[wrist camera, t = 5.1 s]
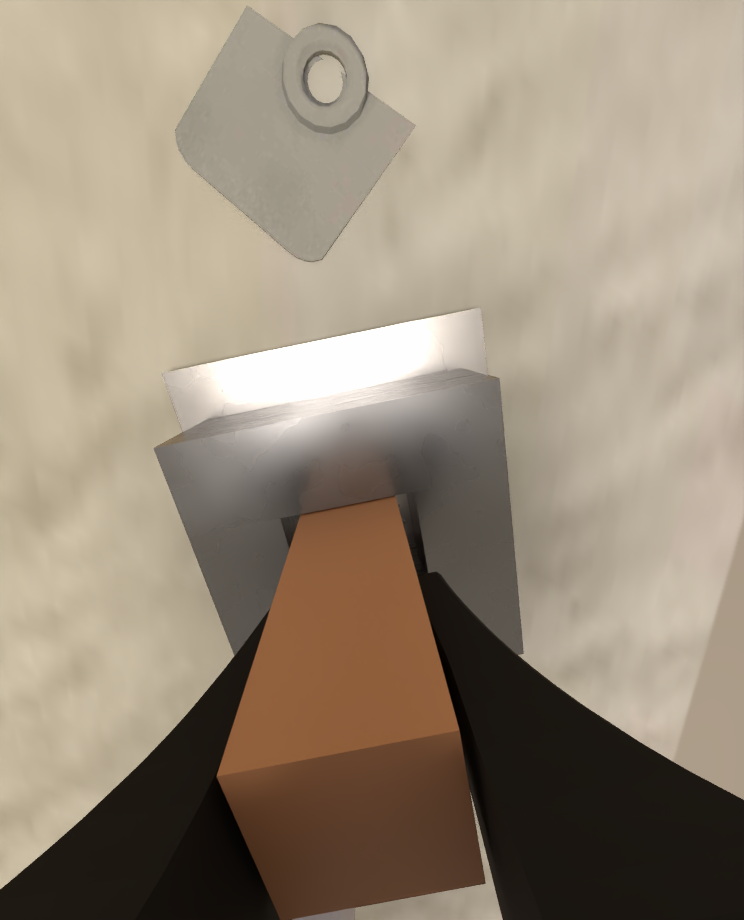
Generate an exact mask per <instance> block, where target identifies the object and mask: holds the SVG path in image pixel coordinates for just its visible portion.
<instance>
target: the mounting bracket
mask: <svg viewBox="0 0 744 920" xmlns="http://www.w3.org/2000/svg"><path fill="white" fill-rule="evenodd" d="M320 54H327V55H332V56H333V57H335V58H336V59H337V60H339V61H340V63H341V64H342V66H343V67H344V69H345V72H346V75H344V74H343V73H342V72H341V74H342V79H343V87H342V91H341V93H340V96H339V97H338V98H337V99H336V100H335V101H333V102H331V103H321V102H319V101H317V100H316V99H315V98H314V97H313V96H312V94H311V92H310V90H309V88H308V83H307V80H308V73H309V70H310V68H311V67H312V65H313V64H314V63H315V62H317V61H319V60H323V59H322V58H320V57H319V56H318V55H320ZM368 81H369V77H368V73H367V69H366V65H365V61H364V57H363V55H362V53H361V52H360V50H359V48H358V47H357V45H356V44H355V42H354V41H353V39H352V38H351V36H349V35H348V34H347V33H345V32H344V31H342V30H341V29H340V28H338V27H337V26H334V25H328V24H322V23H318V24H315V25H312V26H309V27H306V28H304V29H302V30H301V31H300V32H299V33H298V35H297V36H296V37H295V38H292V37H291V36H290V35H288V34H287V33H285V32H284V31H282V30H281V29H280V28H278V27H277V26H275V25H274V24H273V23H271V22H270V21H268V20H267V19H266V18H264V17H263V16H261V15H260V14H259V13H257V12H256V11H254V10H253V9H252V8H250V7H249V6H247V7H246V8H245V10H244V12H243V14H242V15H241V17H240V19H239V20H238V22H237V24H236V26H235V27H234V29H233V31H232V33H231V34H230V36H229V38H228V39H227V41H226V43H225V45H224V46H223V48H222V50H221V52H220V53H219V55H218V57H217V58H216V60H215V62H214V64H213V65H212V67H211V69H210V71H209V72H208V74H207V76H206V77H205V79H204V81H203V83H202V84H201V86H200V88H199V90H198V91H197V93H196V95H195V96H194V98H193V100H192V102H191V103H190V105H189V107H188V109H187V110H186V112H185V114H184V116H183V117H182V119H181V121H180V122H179V124H178V126H177V128H176V129H175V133H176V142H177V145H178V148H179V151H180V153H181V154H182V156H183V158H184V159H185V161H186V162H187V163H188V164H189V165H190V166H191V168H192V169H194V170H195V171H196V172H197V173H198V174H199V175H200V176H202V177H203V178H204V179H205V180H206V181H207V182H209V183H210V184H211V185H212V186H213V187H214V188H216V189H217V190H218V191H219V192H220V193H221V194H222V195H224V196H225V197H226V198H227V199H228V200H229V201H231V202H232V203H233V204H234V205H235V206H236V207H238V208H239V209H240V210H241V211H242V212H243V213H244V214H246V215H247V216H248V217H249V218H250V219H251V220H253V221H254V222H255V223H256V224H257V225H258V226H260V227H261V228H262V229H263V230H264V231H265V232H266V233H268V234H269V235H270V236H271V237H272V238H273V239H275V240H276V241H277V242H278V243H279V244H280V245H282V246H283V247H284V248H285V249H286V250H287V251H288V252H290V253H291V254H292V255H294V256H295V257H297V258H299V259H301V260H304V261H313V262H314V261H318V260H321V259H323V257H324V256H325V254H326V253H327V251H328V250H329V249H330V247H331V246H332V244H333V243H334V242H335V240H336V239H337V237H338V236H339V234H340V233H341V232H342V230H343V229H344V227H345V226H346V225H347V223H348V222H349V220H350V219H351V217H352V216H353V215H354V213H355V212H356V210H357V209H358V207H359V206H360V205H361V203H362V202H363V200H364V199H365V197H366V196H367V195H368V193H369V192H370V190H371V189H372V187H373V186H374V185H375V183H376V182H377V180H378V179H379V177H380V176H381V175H382V173H383V172H384V170H385V169H386V168H387V166H388V165H389V163H390V162H391V160H392V159H393V158H394V156H395V155H396V153H397V152H398V150H399V149H400V148H401V146H402V145H403V143H404V142H405V140H406V139H407V138H408V136H409V135H410V133H411V132H412V130H413V129H414V128H415V126H416V125H415V124H413V123H412V122H411V121H409V120H408V119H406V118H405V117H403V116H402V115H401V114H399V113H398V112H396V111H395V110H394V109H392V108H391V107H389V106H388V105H387V104H385V103H384V102H382V101H381V100H380V99H378V98H377V97H375V96H374V95H373V94H371V93H370V92H368Z"/></svg>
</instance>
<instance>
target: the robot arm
mask: <svg viewBox="0 0 744 920" xmlns="http://www.w3.org/2000/svg"><path fill="white" fill-rule="evenodd" d="M417 577H418V581H419V584H420V588H421V592H422V595H423V599H424V603H425V606H426V610H427V614H428V617H429V621H430V625H431V628H432V632H433V636H434V639H435V643H436V646H437V650H438V654H439V657H440V661H441V665H442V668H443V672H444V676H445V679H446V683H447V687H448V690H449V694H450V698H451V701H452V705H453V709H454V712H455V716H456V720H457V723H458V727H459V731H460V737H461V742H462V748H463V754H464V760H465V766H466V772H467V777H468V783H469V789H470V792H471V795H472V799H473V802H474V806H475V810H476V814H477V818H478V822H479V826H480V830H481V834H482V838H483V842H484V846H485V850H486V854H487V858H488V862H489V866H490V870H491V874H492V878H493V882H494V886H495V890H496V894H497V898H498V902H499V906H500V910H501V914H502V918H503V920H744V800H743V799H741V798H739V797H737V796H735V795H733V794H731V793H730V792H727V791H726V790H723V789H722V788H720V787H718V786H716V785H714V784H712V783H711V782H709V781H707V780H705V779H703V778H701V777H699V776H697V775H695V774H693V773H692V772H690V771H688V770H686V769H684V768H683V767H681V766H679V765H678V764H676V763H674V762H672V761H671V760H669V759H667V758H666V757H664V756H662V755H661V754H659V753H657V752H656V751H654V750H652V749H650V748H649V747H647V746H645V745H644V744H642V743H640V742H639V741H637V740H636V739H634V738H633V737H631V736H630V735H628V734H627V733H625V732H623V731H622V730H620V729H619V728H617V727H616V726H614V725H613V724H611V723H610V722H608V721H607V720H605V719H603V718H602V717H600V716H599V715H597V714H596V713H594V712H593V711H591V710H590V709H588V708H587V707H585V706H584V705H582V704H581V703H579V702H578V701H576V700H575V699H574V698H572V697H571V696H570V695H568V694H567V693H565V692H564V691H563V690H561V689H560V688H559V687H557V686H556V685H554V684H553V683H552V682H551V681H549V680H548V679H547V678H545V677H544V676H543V675H542V674H540V673H539V672H538V671H536V670H535V669H534V668H533V667H531V666H530V665H529V664H528V663H527V662H525V661H524V660H523V659H522V658H521V657H519V656H518V655H517V654H516V653H515V652H514V651H512V650H511V649H510V648H509V647H508V646H507V645H506V644H505V643H504V642H502V641H501V640H500V639H499V638H498V637H497V636H496V635H495V634H494V633H493V632H492V631H491V630H490V629H489V628H488V627H487V626H486V625H485V624H484V623H483V622H482V621H481V620H480V619H479V618H478V617H477V616H476V615H475V614H474V613H473V612H472V611H471V610H470V609H469V608H468V607H467V606H466V605H465V604H464V603H463V601H462V600H461V599H460V598H459V597H458V596H457V595H456V593H455V592H454V591H453V590H452V589H451V587H450V586H449V585H448V584H447V582H446V581H445V579H444V578H443V577H442V575H441V574H439V573H438V572H431V573H426V574H421V575H417ZM269 611H270V609H269ZM269 611H268V612H267V613H266V615H265V616H264V617H263V619H262V620H261V621H260V623H259V624H258V625H257V627H256V628H255V629H254V631H253V632H252V634H251V635H250V636H249V638H248V639H247V640H246V642H245V643H244V644H243V646H242V647H241V648H240V650H239V651H238V652H237V654H236V655H235V656H234V657H233V659H232V660H231V661H230V663H229V664H228V665H227V667H226V668H225V669H224V670H223V672H222V673H221V674H220V675H219V677H218V678H217V679H216V680H215V681H214V683H213V684H212V685H211V686H210V687H209V689H208V690H207V691H206V692H205V693H204V695H203V696H202V697H201V698H200V699H199V701H198V702H197V703H196V704H195V705H194V707H193V708H192V709H191V710H190V711H189V712H188V714H187V715H186V716H185V717H184V718H183V719H182V720H181V721H180V723H179V724H178V725H177V726H176V727H175V728H174V729H173V730H172V731H171V732H170V734H169V735H168V736H167V737H166V738H165V739H164V740H163V741H162V742H161V743H160V744H159V745H158V746H157V747H156V748H155V749H154V750H153V751H152V752H151V753H150V754H149V756H148V757H147V758H146V759H145V760H144V761H143V762H142V763H141V764H140V765H139V766H138V767H137V768H136V769H135V770H133V771H132V772H131V773H130V774H129V775H128V776H127V777H126V778H125V779H124V780H123V781H122V782H121V783H120V784H119V785H118V786H117V787H116V788H115V789H113V790H112V791H111V792H110V793H109V794H108V795H107V796H106V797H105V798H104V799H103V800H102V801H101V802H100V803H99V804H98V805H97V806H96V807H95V808H93V809H92V810H91V811H90V812H89V813H88V814H87V815H86V816H85V817H84V818H83V819H82V820H81V821H79V822H78V823H77V824H76V825H75V826H74V827H73V828H72V829H70V830H69V831H68V832H67V833H66V834H65V835H64V836H63V837H61V838H60V839H59V840H58V841H57V842H56V843H55V844H53V845H52V846H51V847H50V848H49V849H48V850H47V851H45V852H44V853H43V854H42V855H41V856H40V857H38V858H37V859H36V860H35V861H34V862H32V863H31V864H30V865H29V866H28V867H27V868H25V869H24V870H23V871H22V872H21V873H19V874H18V875H17V876H16V877H15V878H14V879H12V880H11V881H10V882H9V883H8V884H6V885H5V886H4V887H3V888H2V889H0V920H280V918H279V915H278V913H277V911H276V909H275V907H274V904H273V902H272V900H271V898H270V895H269V893H268V891H267V889H266V886H265V884H264V882H263V880H262V877H261V875H260V873H259V871H258V868H257V866H256V864H255V862H254V859H253V857H252V855H251V853H250V850H249V848H248V846H247V844H246V841H245V839H244V837H243V835H242V832H241V830H240V828H239V826H238V824H237V821H236V819H235V817H234V815H233V812H232V810H231V808H230V806H229V803H228V801H227V799H226V797H225V794H224V792H223V790H222V788H221V785H220V783H219V781H218V779H217V773H218V770H219V767H220V764H221V761H222V758H223V755H224V752H225V749H226V745H227V742H228V739H229V736H230V733H231V730H232V727H233V724H234V720H235V717H236V714H237V711H238V708H239V705H240V702H241V699H242V696H243V692H244V689H245V686H246V683H247V680H248V677H249V674H250V671H251V667H252V664H253V661H254V658H255V655H256V652H257V649H258V646H259V643H260V639H261V636H262V633H263V630H264V627H265V624H266V621H267V618H268V615H269ZM290 920H355V908H350V909H345V910H339V911H334V912H328V913H323V914H318V915H312V916H307V917H301V918H296V919H290Z"/></svg>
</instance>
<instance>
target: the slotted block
mask: <svg viewBox="0 0 744 920" xmlns="http://www.w3.org/2000/svg"><path fill="white" fill-rule="evenodd" d="M162 376H163V379H164V381H165V384H166V387H167V390H168V393H169V395H170V398H171V401H172V404H173V406H174V409H175V412H176V415H177V417H178V420H179V423H180V426H181V429H182V431H183V432H182V433H180V434H179V435H177V436H175V437H173V438H171V439H169V440H168V441H166V442H164V443H162V444H160V445H158V446H157V447H155V448H154V450H155V453H156V455H157V458H158V461H159V463H160V466H161V468H162V471H163V473H164V476H165V479H166V481H167V484H168V486H169V489H170V491H171V494H172V496H173V499H174V502H175V504H176V507H177V509H178V512H179V514H180V517H181V520H182V522H183V525H184V527H185V530H186V532H187V535H188V537H189V540H190V543H191V545H192V548H193V550H194V553H195V555H196V558H197V561H198V563H199V566H200V568H201V571H202V573H203V576H204V578H205V581H206V584H207V586H208V589H209V591H210V594H211V596H212V599H213V602H214V604H215V607H216V609H217V612H218V614H219V617H220V619H221V622H222V625H223V627H224V630H225V632H226V635H227V637H228V640H229V643H230V645H231V648H232V650H233V653H234V655H236V654H237V652H238V651H239V650H240V648H241V647H242V646H243V644H244V643H245V642H246V640H247V639H248V638H249V636H250V635H251V634H252V632H253V631H254V629H255V628H256V627H257V625H258V624H259V623H260V621H261V620H262V619H263V617H264V616H265V615H266V613H267V612H268V611H269V609H270V608H271V605H272V602H273V599H274V596H275V593H276V590H277V586H278V583H279V580H280V577H281V574H282V571H283V568H284V565H285V562H286V558H287V555H288V552H289V549H290V546H291V543H292V540H293V537H294V534H295V530H296V527H297V524H298V521H299V518H300V515H301V514H305V513H310V512H315V511H320V510H325V509H330V508H335V507H340V506H345V505H350V504H355V503H360V502H365V501H370V500H375V499H380V498H385V497H390V496H395V497H396V500H397V504H398V508H399V511H400V515H401V519H402V522H403V526H404V529H405V533H406V537H407V540H408V544H409V548H410V551H411V555H412V559H413V562H414V566H415V570H416V573H417V575H421V574H426V573H431V572H438V573H439V574H441V575H442V577H443V578H444V579H445V581H446V582H447V584H448V585H449V586H450V587H451V589H452V590H453V591H454V592H455V593H456V595H457V596H458V597H459V598H460V599H461V600H462V601H463V603H464V604H465V605H466V606H467V607H468V608H469V609H470V610H471V611H472V612H473V613H474V614H475V615H476V616H477V617H478V618H479V619H480V620H481V621H482V622H483V623H484V624H485V625H486V626H487V627H488V628H489V629H490V630H491V631H492V632H493V633H494V634H495V635H496V636H497V637H498V638H499V639H500V640H501V641H502V642H504V643H505V644H506V645H507V646H508V647H509V648H510V649H511V650H512V651H514V652H515V653H516V654H517V655H519V654H524V653H523V641H522V630H521V619H520V607H519V596H518V585H517V573H516V562H515V551H514V539H513V528H512V517H511V505H510V494H509V483H508V471H507V460H506V449H505V437H504V426H503V415H502V403H501V392H500V381H499V378H497V377H493V376H489V375H488V373H487V363H486V353H485V342H484V332H483V322H482V312H481V307H480V308H475V309H470V310H466V311H461V312H456V313H451V314H446V315H441V316H436V317H431V318H427V319H422V320H417V321H412V322H407V323H402V324H397V325H392V326H388V327H383V328H378V329H373V330H368V331H363V332H358V333H353V334H349V335H344V336H339V337H334V338H329V339H324V340H319V341H314V342H310V343H305V344H300V345H295V346H290V347H285V348H280V349H275V350H271V351H266V352H261V353H256V354H251V355H246V356H241V357H236V358H232V359H227V360H222V361H217V362H212V363H207V364H202V365H197V366H193V367H188V368H183V369H178V370H173V371H168V372H163V373H162Z"/></svg>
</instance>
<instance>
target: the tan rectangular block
mask: <svg viewBox="0 0 744 920" xmlns="http://www.w3.org/2000/svg"><path fill="white" fill-rule="evenodd" d="M217 779H218V781H219V783H220V785H221V788H222V790H223V792H224V794H225V797H226V799H227V801H228V803H229V806H230V808H231V810H232V812H233V815H234V817H235V819H236V821H237V824H238V826H239V828H240V830H241V832H242V835H243V837H244V839H245V841H246V844H247V846H248V848H249V850H250V853H251V855H252V857H253V859H254V862H255V864H256V866H257V868H258V871H259V873H260V875H261V877H262V880H263V882H264V884H265V886H266V889H267V891H268V893H269V895H270V898H271V900H272V902H273V904H274V907H275V909H276V911H277V913H278V915H279V918H280V920H290V919H296V918H301V917H307V916H312V915H318V914H323V913H328V912H334V911H339V910H345V909H350V908H356V907H361V906H366V905H372V904H377V903H383V902H388V901H393V900H399V899H404V898H410V897H415V896H421V895H426V894H431V893H437V892H442V891H448V890H453V889H459V888H464V887H469V886H475V885H480V884H486V883H485V877H484V871H483V865H482V859H481V853H480V847H479V842H478V836H477V830H476V824H475V818H474V812H473V807H472V801H471V795H470V789H469V783H468V777H467V772H466V766H465V760H464V754H463V748H462V742H461V737H460V731H459V727H458V723H457V720H456V716H455V712H454V709H453V705H452V701H451V698H450V694H449V690H448V687H447V683H446V679H445V676H444V672H443V668H442V665H441V661H440V657H439V654H438V650H437V646H436V643H435V639H434V636H433V632H432V628H431V625H430V621H429V617H428V614H427V610H426V606H425V603H424V599H423V595H422V592H421V588H420V584H419V581H418V577H417V573H416V570H415V566H414V562H413V559H412V555H411V551H410V548H409V544H408V540H407V537H406V533H405V529H404V526H403V522H402V519H401V515H400V511H399V508H398V504H397V500H396V497H395V496H390V497H385V498H380V499H375V500H370V501H365V502H360V503H355V504H350V505H345V506H340V507H335V508H330V509H325V510H320V511H315V512H310V513H305V514H301V515H300V518H299V521H298V524H297V527H296V530H295V534H294V537H293V540H292V543H291V546H290V549H289V552H288V555H287V558H286V562H285V565H284V568H283V571H282V574H281V577H280V580H279V583H278V586H277V590H276V593H275V596H274V599H273V602H272V605H271V608H270V611H269V615H268V618H267V621H266V624H265V627H264V630H263V633H262V636H261V639H260V643H259V646H258V649H257V652H256V655H255V658H254V661H253V664H252V667H251V671H250V674H249V677H248V680H247V683H246V686H245V689H244V692H243V696H242V699H241V702H240V705H239V708H238V711H237V714H236V717H235V720H234V724H233V727H232V730H231V733H230V736H229V739H228V742H227V745H226V749H225V752H224V755H223V758H222V761H221V764H220V767H219V770H218V773H217Z"/></svg>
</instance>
